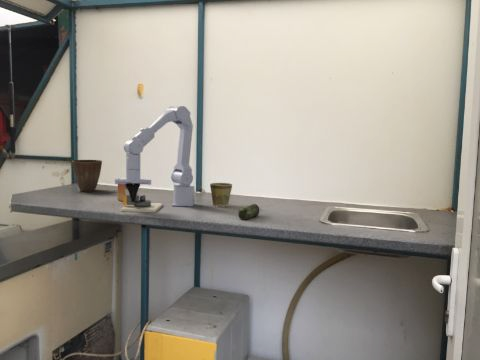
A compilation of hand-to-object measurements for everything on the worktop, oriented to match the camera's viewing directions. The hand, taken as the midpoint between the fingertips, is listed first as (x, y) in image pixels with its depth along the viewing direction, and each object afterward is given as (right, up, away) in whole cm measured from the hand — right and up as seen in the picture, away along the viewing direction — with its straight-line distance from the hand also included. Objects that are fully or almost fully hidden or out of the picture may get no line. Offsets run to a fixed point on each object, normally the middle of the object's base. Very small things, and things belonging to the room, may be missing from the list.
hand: (133, 201), depth 169 cm
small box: (-8, -1, +21) cm, 22 cm away
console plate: (+3, -3, +4) cm, 6 cm away
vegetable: (+48, -6, -7) cm, 49 cm away
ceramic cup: (+36, -3, +18) cm, 40 cm away
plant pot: (-37, +3, +47) cm, 59 cm away
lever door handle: (+1, -2, +3) cm, 4 cm away
